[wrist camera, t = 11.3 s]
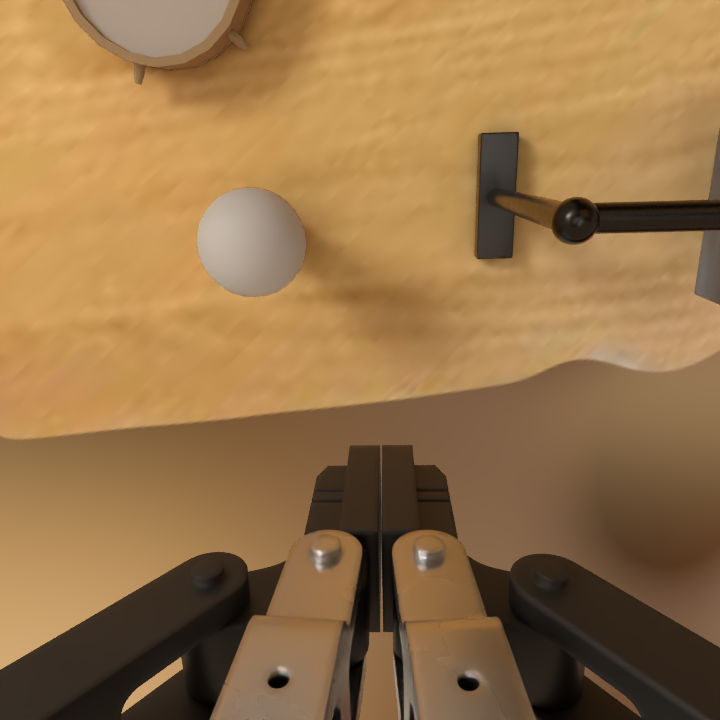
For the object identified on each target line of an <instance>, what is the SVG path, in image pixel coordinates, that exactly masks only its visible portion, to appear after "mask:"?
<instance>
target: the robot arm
mask: <svg viewBox="0 0 720 720" xmlns="http://www.w3.org/2000/svg"><path fill="white" fill-rule="evenodd" d="M412 449H413V448H412V445H383V446H382V521H381V474H380V446H379V445H371V446H370V445H363V446H362V445H361V446H359V445H357V446H350V450H349V457H348V465H347V466H328V467H327V468H326V469H325V470H324V471H322V473H320V475H318V477H317V479H316V484H315V489H314V493H313V498H312V503H311V507H310V511H309V516H308V521H307V525H306V529H305V534H304V536H303V537H301V538H299V539H298V540H297V541H296V542H295V543H294V544H293V545H292V547H291V549H290V551H289V554H288V557H287V560H286V561H284V562H282V563H280V564H277V565H274V566H271V567H267V568H264V569H259V570H254V571H250V572H248V569H247V565H246V563H245V562H244V561H243V560H242V559H241V558H240V557H238V556H236V555H234V554H230V553H225V552H213V553H207V554H202V555H199V556H196V557H194V558H191V559H189V560H188V561H186V562H184V563H182V564H180V565H179V566H177V567H175V568H174V569H172V570H170V571H168V572H167V573H165V574H164V575H162V576H160V577H158V578H157V579H155V580H153V581H151V582H150V583H148V584H146V585H145V586H143V587H141V588H139V589H138V590H136V591H134V592H133V593H131V594H129V595H128V596H126V597H124V598H123V599H121V600H119V601H117V602H116V603H114V604H112V605H110V606H109V607H107V608H106V609H104V610H102V611H100V612H99V613H97V614H95V615H93V616H92V617H90V618H88V619H86V620H85V621H83V622H81V623H80V624H78V625H76V626H75V627H73V628H71V629H70V630H68V631H66V632H65V633H63V634H61V635H59V636H57V637H56V638H54V639H52V640H51V641H49V642H47V643H45V644H44V645H42V646H40V647H39V648H37V649H35V650H34V651H32V652H30V653H28V654H27V655H25V656H23V657H22V658H20V659H18V660H16V661H15V662H13V663H11V664H10V665H8V666H6V667H4V668H3V669H1V670H0V720H359V718H360V710H361V702H362V695H363V687H364V680H365V671H366V653H367V650H368V646H369V632H380V593H381V537H382V580H383V581H382V585H383V632H393V646H394V647H393V649H394V650H393V651H394V652H393V654H394V676H395V685H396V695H397V704H398V713H399V720H720V648H719V647H718V646H716V645H714V644H713V643H711V642H709V641H707V640H706V639H704V638H702V637H701V636H699V635H697V634H695V633H694V632H692V631H690V630H689V629H687V628H685V627H684V626H682V625H680V624H679V623H677V622H675V621H673V620H672V619H670V618H668V617H667V616H665V615H663V614H661V613H660V612H658V611H656V610H655V609H653V608H651V607H649V606H648V605H646V604H644V603H643V602H641V601H639V600H637V599H636V598H634V597H633V596H631V595H629V594H627V593H626V592H624V591H622V590H621V589H619V588H617V587H615V586H614V585H612V584H610V583H609V582H607V581H605V580H603V579H602V578H600V577H598V576H597V575H595V574H593V573H592V572H590V571H588V570H587V569H585V568H583V567H581V566H580V565H578V564H576V563H574V562H573V561H570V560H568V559H566V558H563V557H560V556H556V555H550V554H533V555H528V556H524V557H522V558H520V559H519V560H517V561H516V562H515V563H514V564H513V566H512V568H511V571H510V572H509V571H505V570H500V569H496V568H492V567H488V566H486V565H483V564H481V563H479V562H477V561H475V560H473V559H472V558H470V557H469V556H468V555H467V553H466V550H465V548H464V546H463V544H462V543H461V542H460V541H459V540H458V537H457V533H456V527H455V521H454V516H453V511H452V506H451V502H450V496H449V492H448V485H447V480H446V476H445V475H444V474H443V473H442V472H441V471H440V470H439V469H438V468H437V467H436V466H435V465H414V460H413V450H412ZM179 657H181V658H182V664H183V669H182V670H181V671H179V672H178V673H177V674H175V675H174V676H172V677H171V678H170V679H168V680H167V681H166V682H164V683H163V684H162V685H160V686H159V687H157V688H156V689H155V690H154V691H152V692H151V693H149V694H148V695H147V696H145V697H144V698H143V699H141V700H140V701H139V702H137V703H136V704H134V705H133V706H132V707H130V708H129V709H128V710H126V711H125V712H123V713H122V714H121V712H122V709H123V706H124V704H125V702H126V700H127V699H128V697H129V696H130V695H131V694H132V692H134V691H135V690H136V689H137V688H138V687H139V686H141V685H142V684H143V683H145V682H146V681H148V680H149V679H150V678H152V677H153V676H155V675H156V674H157V673H159V672H160V671H161V670H163V669H164V668H166V667H167V666H168V665H170V664H171V663H173V662H174V661H176V660H177V659H178V658H179ZM585 667H587V668H588V669H590V670H591V671H592V672H594V673H595V674H596V675H598V676H599V677H600V678H602V679H603V680H605V681H606V682H607V683H609V684H610V685H611V686H613V687H614V688H615V689H617V690H618V691H620V692H621V693H622V694H624V695H625V696H626V697H627V698H628V699H629V700H630V701H631V702H632V703H633V704H634V705H635V707H636V708H637V710H638V711H639V713H640V715H641V717H642V718H640V717H639V716H638V715H637V714H635V713H634V712H632V711H631V710H630V709H629V708H627V707H626V706H625V705H623V704H622V703H621V702H619V701H618V700H617V699H615V698H614V697H612V696H611V695H610V694H609V693H607V692H606V691H605V690H603V689H602V688H601V687H599V686H598V685H596V684H595V683H594V682H593V681H591V680H590V679H589V678H587V677H586V676H584V668H585Z"/></svg>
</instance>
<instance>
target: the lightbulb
mask: <svg viewBox="0 0 720 720" xmlns="http://www.w3.org/2000/svg"><path fill="white" fill-rule="evenodd" d="M197 248H198V253H199V257H200V259H201V262H202V264H203V266H204V268H205V270H206V271H207V273H208V274H209V276H210V277H211V278H212V279H213V280H214V281H215V282H216V283H217V284H218V285H220V286H221V287H223V288H224V289H225V290H228V291H230V292H232V293H234V294H237V295H241V296H246V297H259V296H267V295H270V294H273V293H276V292H278V291H279V290H281V289H283V288H284V287H286V286H287V285H288V284H289V283H290V282H291V281H292V280H293V279H294V278H295V276H296V275H297V273H298V272H299V271H300V268H301V266H302V264H303V262H304V258H305V254H306V236H305V230H304V227H303V224H302V222H301V219H300V218H299V216H298V214H297V213H296V211H295V210H294V209H293V208H292V206H291V205H290V204H289V203H288V202H287V201H285V200H284V199H283V198H282V197H280V196H279V195H277V194H275V193H273V192H271V191H268V190H265V189H261V188H252V187H247V188H240V189H234V190H232V191H229V192H226V193H224V194H223V195H221V196H220V197H218V198H217V199H216V200H215V201H214V202H213V203H212V204H211V205H210V206H209V207H208V209H207V210H206V212H205V213H204V215H203V216H202V219H201V221H200V224H199V227H198V233H197Z"/></svg>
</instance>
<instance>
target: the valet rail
mask: <svg viewBox="0 0 720 720" xmlns="http://www.w3.org/2000/svg"><path fill="white" fill-rule="evenodd" d="M518 141H519V132H501V133H481V134H479V135H478V165H477V195H476V226H475V257H476V258H477V259H495V258H512V254H513V235H514V216H515V215H516V216H519V217H521V218H524V219H527V220H529V221H532V222H534V223H537V224H539V225H542V226H544V227H547V228H549V229H552V232H553V234H554V235H555V237H556V238H557V239H558V240H560V241H561V242H563V243H566V244H570V245H577V244H581V243H584V242H586V241H588V240H589V239H591V238H592V237H593V236H594V234H600V233H642V232H683V231H720V200H686V201H648V202H611V203H593V202H591V201H590V200H588V199H586V198H582V197H572V198H569V199H566V200H564V201H563V202H561V201H557V200H552V199H547V198H543V197H538V196H533V195H529V194H524V193H519V192H516V178H517V160H518Z"/></svg>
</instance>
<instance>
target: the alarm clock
mask: <svg viewBox="0 0 720 720" xmlns="http://www.w3.org/2000/svg"><path fill="white" fill-rule="evenodd" d="M63 1H64V3H65V5H66V6H67V8H68V10H69V12H70V13H71V15H72V17H73V19H74V20H75V21H76V22H77V23H78V24H79V26H80V27H81V28H82V29H83V30H84V31H85V32H86V33H87V34H88V35H89V36H90V37H91V38H92V39H93V40H94V41H95V42H96V43H97V44H98V45H99V46H101V47H103V48H104V49H106V50H108V51H110V52H111V53H113V54H115V55H117V56H118V57H120V58H122V59H124V60H125V61H128V62H133V63H135V68H134V78H135V83H137V84H142V81H143V78H144V73H145V65H147V66H152V67H156V68H162V69H166V70H171V71H172V70H179V69H187V68H194V67H199V66H201V65H202V64H204V63H206V62H208V61H210V60H211V59H213V58H215V57H217V56H219V55H221V54H222V53H223V52H224V50H225V49H226V48H227V47H228V46H229V45H230V44H231V42H233V43H234V44H235V45H236V46H238V47H239V48H241V49H242V50H245V49H246V48H247V46H248V45H247V43H246V42H245V41H244V39H243V38H242V37H241V36H240V35H239V33H240V31H241V29H242V27H243V24H244V22H245V19H246V17H247V15H248V12H249V10H250V7H251V5H252V0H63Z"/></svg>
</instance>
